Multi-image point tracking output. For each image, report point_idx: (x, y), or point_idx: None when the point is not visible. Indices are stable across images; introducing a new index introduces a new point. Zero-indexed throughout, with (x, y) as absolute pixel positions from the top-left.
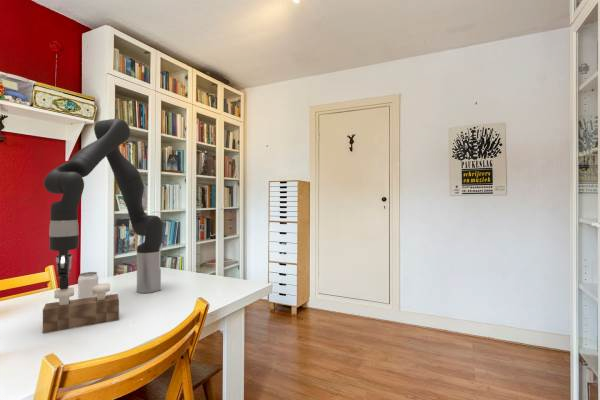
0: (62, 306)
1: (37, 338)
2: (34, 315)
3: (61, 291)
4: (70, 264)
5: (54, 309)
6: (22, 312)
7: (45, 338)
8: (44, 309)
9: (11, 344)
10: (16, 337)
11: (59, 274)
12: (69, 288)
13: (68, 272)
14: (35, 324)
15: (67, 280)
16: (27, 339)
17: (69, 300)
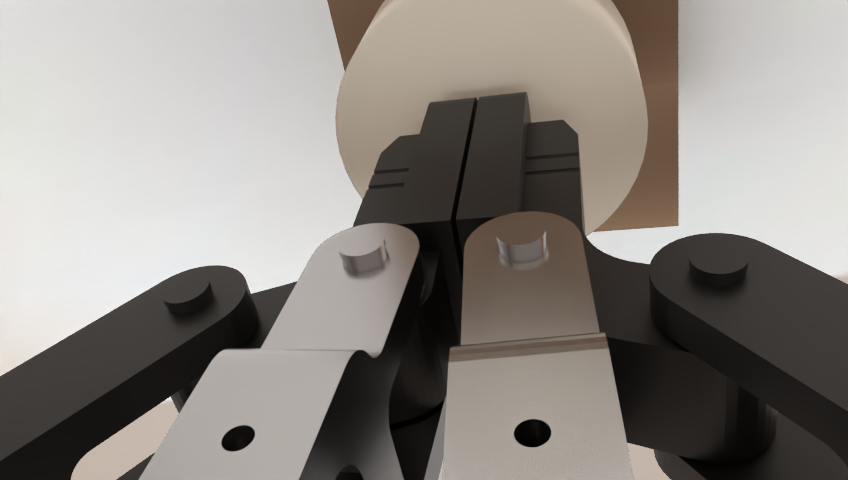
0: (640, 33)
1: (776, 108)
2: (112, 261)
3: (607, 159)
4: (542, 476)
5: (673, 108)
6: (25, 346)
7: (827, 41)
8: (665, 212)
9: (799, 254)
10: (639, 259)
11: (824, 454)
12: (413, 70)
13: (581, 295)
14: (359, 206)
15: (522, 182)
16: (748, 177)
17: (337, 5)
